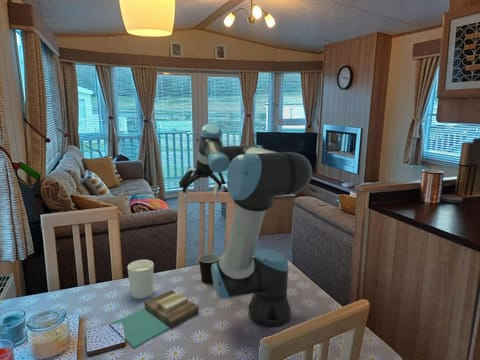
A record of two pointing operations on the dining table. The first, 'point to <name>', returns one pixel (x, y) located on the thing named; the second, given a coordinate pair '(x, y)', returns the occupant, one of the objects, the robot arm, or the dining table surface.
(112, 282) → the dining table surface
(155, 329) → the mat
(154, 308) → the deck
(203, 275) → the coffee mug
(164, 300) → the light wooden block
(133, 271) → the candle holder
